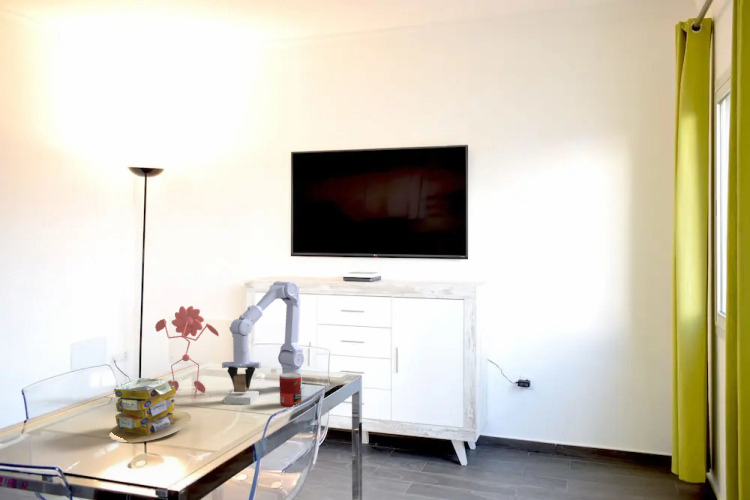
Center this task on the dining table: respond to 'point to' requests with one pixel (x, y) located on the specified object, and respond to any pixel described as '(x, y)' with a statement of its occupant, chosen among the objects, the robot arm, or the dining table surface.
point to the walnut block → (240, 383)
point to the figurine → (186, 325)
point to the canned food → (290, 389)
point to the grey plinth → (241, 397)
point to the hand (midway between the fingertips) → (241, 387)
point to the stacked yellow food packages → (147, 410)
